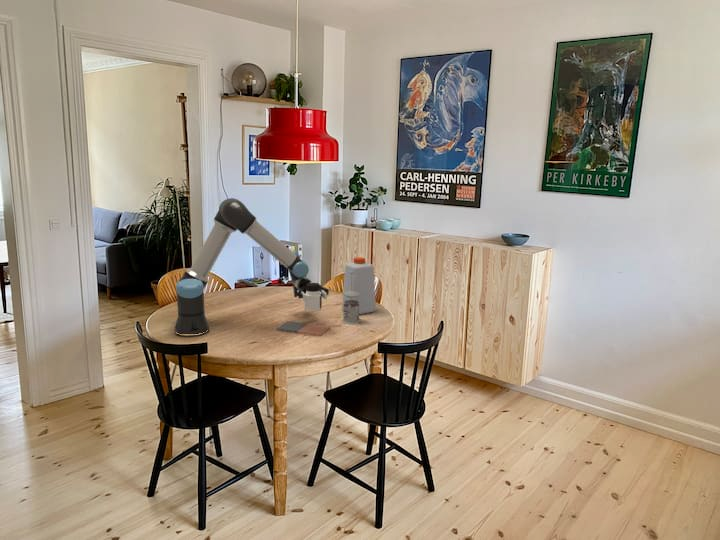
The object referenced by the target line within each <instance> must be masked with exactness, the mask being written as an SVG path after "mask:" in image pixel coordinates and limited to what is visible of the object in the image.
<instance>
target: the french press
mask: <svg viewBox="0 0 720 540" xmlns="http://www.w3.org/2000/svg"><path fill="white" fill-rule="evenodd" d="M350 274H351V291H347V292H345V293H344V294H343V293H342V296H343V295H344V296H347V297H348V298H351V300H347V298H346V301H345V302H344V303H345V304H344V305H343V307H344V308H343V309H342V310H343V313H342V314H343V319H342V321H341V323H343V324H345V323H346V324H345V325H356V324H355V323H358V324H360V323H362V320H361V319H360V315H359V304H358V303H359V302H358V301H356V300H355V301H354V300H352V297H357V296H359V295H360V294H359V293H358V292H356V291H352V274H354V272H352V271H351V272H350ZM349 305H350V307H349ZM355 306H358V307H355ZM344 310H345V311H344ZM357 311H358V312H357ZM357 314H358V315H357ZM359 322H360V323H359Z"/></svg>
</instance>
